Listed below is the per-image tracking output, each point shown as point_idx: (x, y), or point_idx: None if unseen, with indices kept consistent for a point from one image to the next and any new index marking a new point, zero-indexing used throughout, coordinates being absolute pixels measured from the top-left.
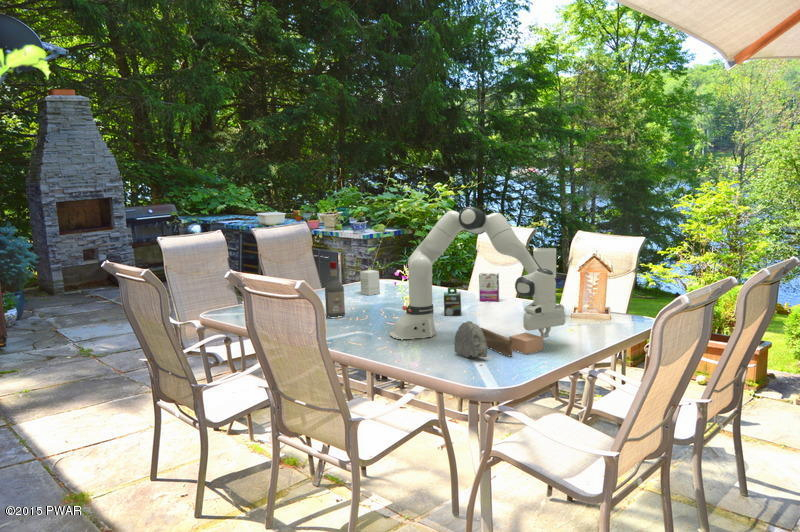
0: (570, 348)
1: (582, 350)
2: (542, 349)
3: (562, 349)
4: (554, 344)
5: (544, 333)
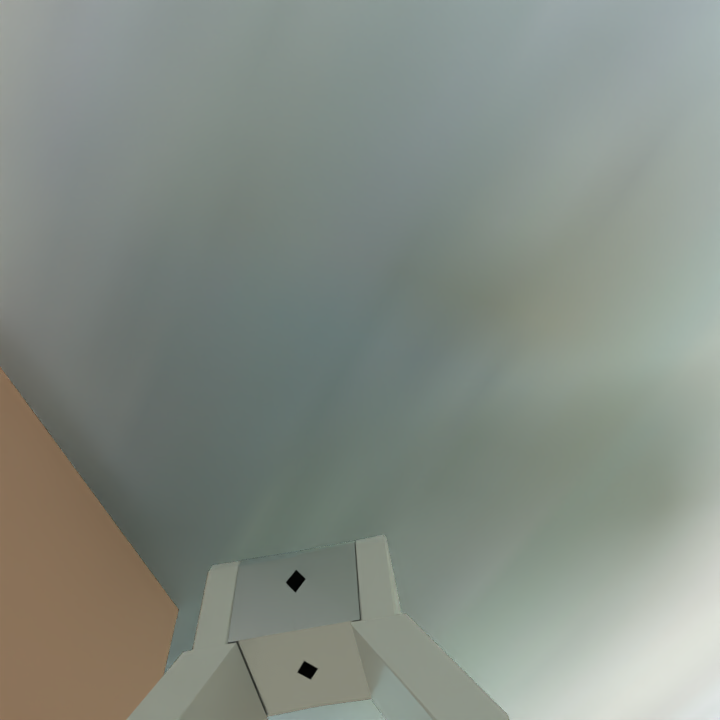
0: (612, 631)
1: (679, 716)
2: (169, 623)
3: (479, 642)
4: (538, 403)
5: (308, 656)
